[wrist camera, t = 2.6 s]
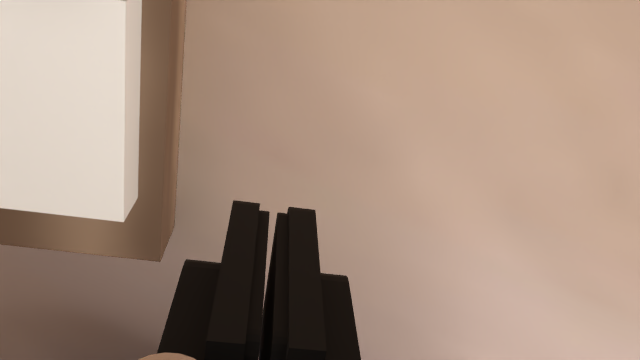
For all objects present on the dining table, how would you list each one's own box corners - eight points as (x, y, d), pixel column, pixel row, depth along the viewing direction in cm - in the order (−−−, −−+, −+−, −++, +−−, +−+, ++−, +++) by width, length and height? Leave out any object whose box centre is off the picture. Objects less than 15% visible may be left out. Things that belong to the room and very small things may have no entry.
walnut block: (191, -95, 20) (175, -98, 18) (174, 226, 26) (160, 261, 23) (-154, -156, 19) (-229, -169, 16) (-91, 195, 25) (-139, 229, 22)
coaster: (142, -7, 19) (125, 1, 17) (137, 197, 22) (123, 222, 20) (-106, -46, 18) (-151, -43, 16) (-71, 172, 21) (-105, 195, 19)
